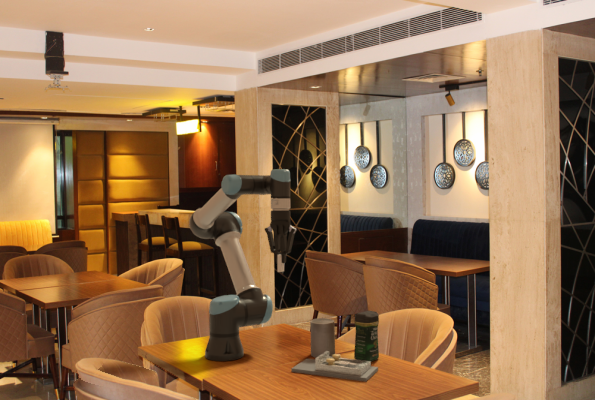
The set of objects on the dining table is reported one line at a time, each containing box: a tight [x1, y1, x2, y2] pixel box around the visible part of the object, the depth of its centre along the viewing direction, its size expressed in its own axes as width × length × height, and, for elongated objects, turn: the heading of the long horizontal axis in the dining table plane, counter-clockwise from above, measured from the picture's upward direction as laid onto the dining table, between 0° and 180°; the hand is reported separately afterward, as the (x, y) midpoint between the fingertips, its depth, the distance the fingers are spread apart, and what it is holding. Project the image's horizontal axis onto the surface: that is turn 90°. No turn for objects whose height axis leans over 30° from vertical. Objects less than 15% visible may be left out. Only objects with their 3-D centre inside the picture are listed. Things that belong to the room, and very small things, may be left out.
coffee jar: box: [353, 310, 380, 362], centre depth 222 cm, size 10×8×19 cm
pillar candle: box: [309, 317, 336, 358], centre depth 228 cm, size 10×10×15 cm
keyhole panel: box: [314, 351, 372, 376], centre depth 206 cm, size 17×11×4 cm, turn 66°
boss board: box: [291, 353, 379, 383], centre depth 207 cm, size 28×14×5 cm, turn 66°
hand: (280, 271), depth 219 cm, fingers closed
